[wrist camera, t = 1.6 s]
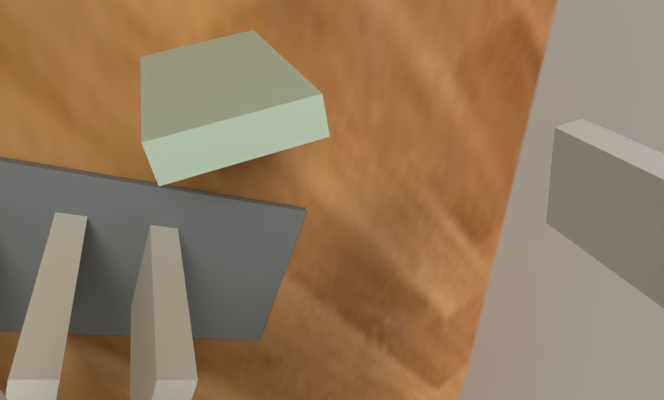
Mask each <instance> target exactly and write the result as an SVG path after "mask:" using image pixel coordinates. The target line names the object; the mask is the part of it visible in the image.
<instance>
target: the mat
mask: <svg viewBox="0 0 664 400" xmlns="http://www.w3.org/2000/svg"><path fill="white" fill-rule="evenodd" d="M55 212H57V213H65V214H73V215H80V216H88V217H87V223H86V229H85V234H84V240H83V246H82V252H81V258H80V264H79V270H78V276H77V282H76V287H75V293H74V299H73V305H72V311H71V317H70V323H69V329H68V334H87V335H115V336H131V304H132V300H133V296H134V292H135V288H136V283H137V279H138V275H139V271H140V266H141V262H142V258H143V254H144V250H145V245H146V241H147V237H148V233H149V229H150V225H155V226H162V227H170V228H178V232H179V240H180V247H181V255H182V263H183V270H184V278H185V285H186V293H187V300H188V308H189V315H190V323H191V331H192V338H198V339H225V340H253V341H260V338H261V335H262V333H263V330H264V327H265V324H266V322H267V319H268V316H269V314H270V311H271V308H272V305H273V303H274V300H275V297H276V294H277V292H278V289H279V286H280V283H281V281H282V278H283V275H284V273H285V270H286V267H287V264H288V262H289V259H290V256H291V253H292V251H293V248H294V245H295V243H296V240H297V237H298V234H299V232H300V229H301V226H302V223H303V221H304V218H305V215H306V213H307V211H306V210H305V208H301V207H295V206H289V205H283V204H277V203H271V202H265V201H259V200H253V199H247V198H241V197H235V196H229V195H224V194H218V193H212V192H206V191H200V190H194V189H188V188H182V187H176V186H170V185H162V186H158V183H152V182H146V181H140V180H134V179H128V178H122V177H116V176H110V175H104V174H98V173H92V172H86V171H80V170H74V169H68V168H62V167H56V166H50V165H44V164H38V163H33V162H27V161H21V160H15V159H9V158H3V157H0V331H5V332H22V328H23V324H24V321H25V317H26V314H27V310H28V307H29V303H30V300H31V296H32V293H33V289H34V286H35V282H36V279H37V275H38V272H39V268H40V265H41V261H42V258H43V254H44V250H45V247H46V243H47V240H48V236H49V233H50V229H51V226H52V222H53V219H54V215H55Z"/></svg>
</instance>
